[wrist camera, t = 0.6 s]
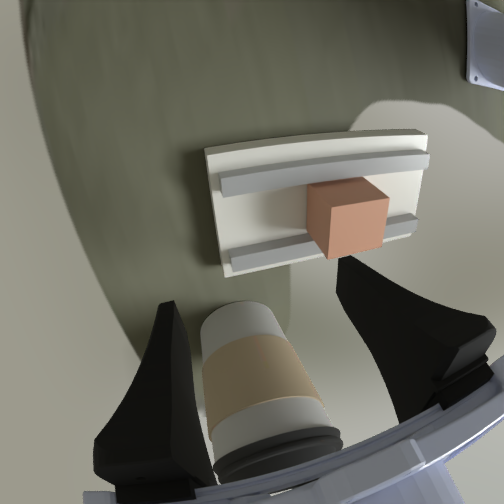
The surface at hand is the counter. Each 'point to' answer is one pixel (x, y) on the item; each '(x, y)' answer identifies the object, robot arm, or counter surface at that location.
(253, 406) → the coffee cup
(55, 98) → the counter surface
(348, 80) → the counter surface
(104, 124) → the counter surface
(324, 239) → the switch
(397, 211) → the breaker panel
